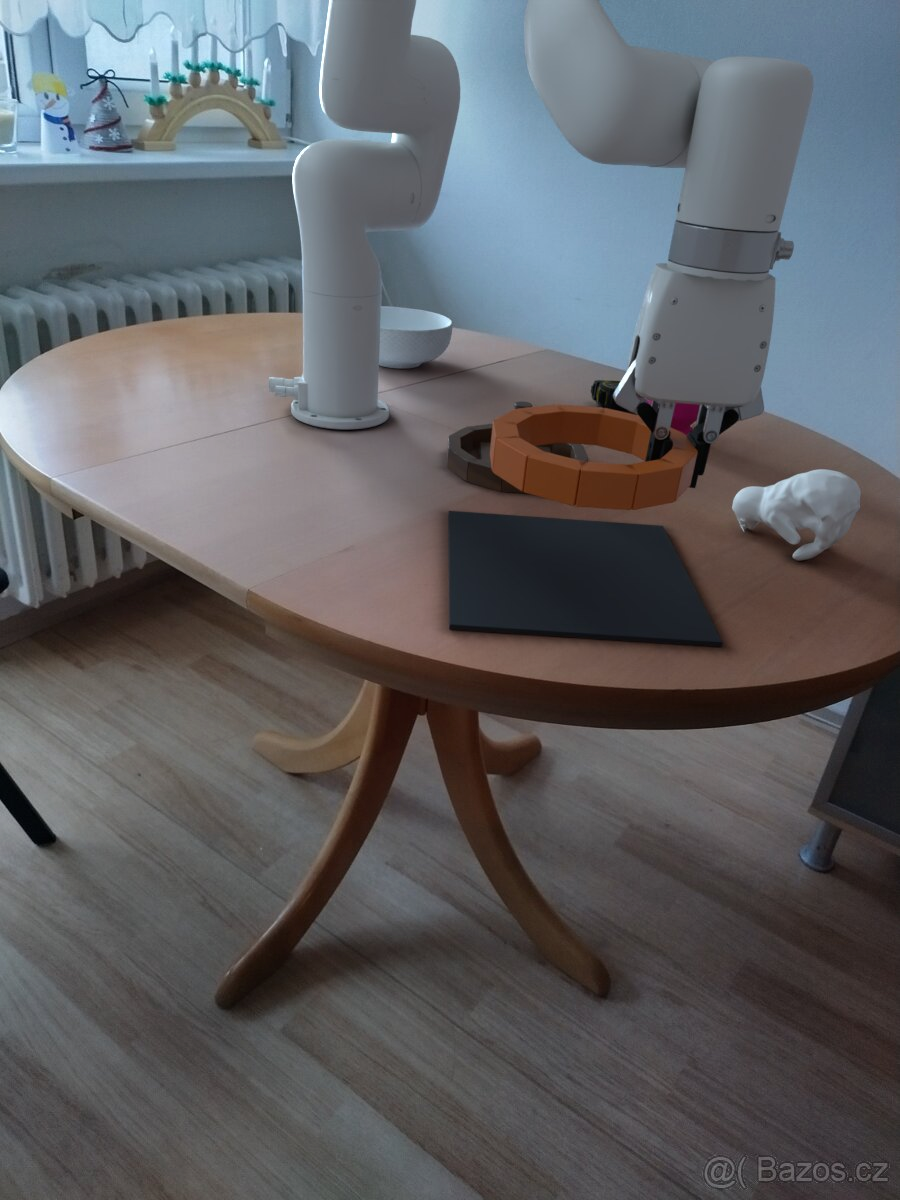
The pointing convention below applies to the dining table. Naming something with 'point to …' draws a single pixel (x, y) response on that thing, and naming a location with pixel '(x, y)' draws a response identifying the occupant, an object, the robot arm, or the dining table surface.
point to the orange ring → (588, 479)
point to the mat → (571, 580)
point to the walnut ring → (482, 470)
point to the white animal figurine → (802, 508)
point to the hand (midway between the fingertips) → (671, 479)
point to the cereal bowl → (412, 336)
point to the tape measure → (606, 394)
